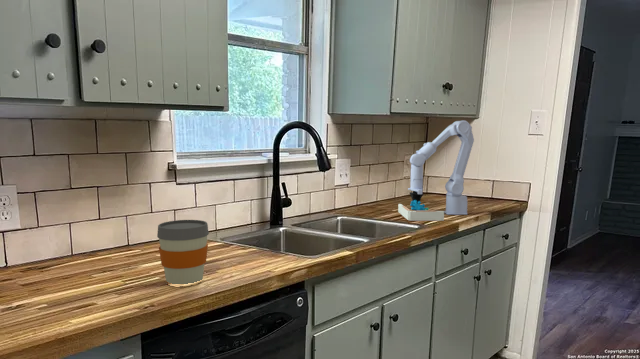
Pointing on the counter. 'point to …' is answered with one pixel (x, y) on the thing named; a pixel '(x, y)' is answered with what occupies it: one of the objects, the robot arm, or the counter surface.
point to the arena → (420, 214)
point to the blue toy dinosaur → (418, 206)
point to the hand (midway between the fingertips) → (415, 207)
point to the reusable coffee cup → (183, 250)
